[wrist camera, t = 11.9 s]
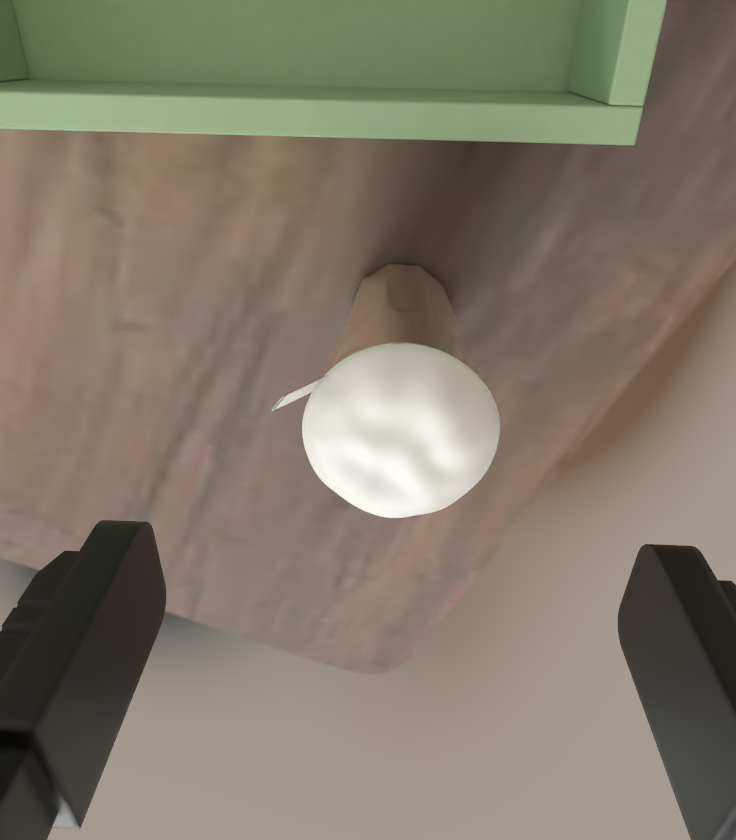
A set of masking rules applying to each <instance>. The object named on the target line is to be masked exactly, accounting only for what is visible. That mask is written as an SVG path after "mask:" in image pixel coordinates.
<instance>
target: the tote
mask: <svg viewBox="0 0 736 840" xmlns="http://www.w3.org/2000/svg"><path fill="white" fill-rule="evenodd" d="M666 4H667V0H0V129H29V130H67V131H105V132H143V133H181V134H219V135H257V136H296V137H334V138H372V139H410V140H448V141H486V142H524V143H563V144H601V145H634V144H635V142H636V138H637V134H638V129H639V125H640V120H641V116H642V111H643V107H641V106H642V105H643V104H644V102H645V97H646V93H647V89H648V84H649V80H650V75H651V71H652V66H653V62H654V57H655V53H656V49H657V44H658V40H659V35H660V31H661V26H662V22H663V17H664V13H665V9H666Z"/></svg>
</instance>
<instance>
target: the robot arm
mask: <svg viewBox="0 0 736 840" xmlns="http://www.w3.org/2000/svg"><path fill="white" fill-rule="evenodd" d="M165 605H166V586H165V581H164V577H163V572H162V568H161V563H160V559H159V554H158V549H157V545H156V540H155V536H154V532H153V528H152V526H151V525H150V523H148V522H136V521H112V520H102V521H100V522H98V523H97V524H96V526H95V527H94V528H93V530H92V532H91V533H90V535H89V537H88V538H87V540H86V542H85V543H84V545H83V546H82V548H81V550H80V551H64V552H63V553H61V554H60V555H59V556H58V557H56V558H55V559H54V560H53V561H52V562H50V563H49V564H48V565H47V566H45V567H44V568H43V569H42V570H41V571H39V572H38V573H37V574H36V575H35V577H34V578H33V580H32V581H31V583H30V584H29V586H28V587H27V589H26V590H25V592H24V593H23V595H22V596H21V598H20V599H19V601H18V606H17V608H13V610H12V611H11V613H10V614H9V616H8V617H7V619H6V620H5V622H4V623H3V625H2V630H1V632H0V840H47V838H48V836H49V833H50V831H51V829H52V828H64V829H80V828H81V825H82V823H83V820H84V818H85V815H86V813H87V810H88V808H89V805H90V803H91V800H92V798H93V795H94V793H95V790H96V787H97V785H98V783H99V780H100V777H101V775H102V772H103V770H104V767H105V765H106V762H107V760H108V757H109V755H110V752H111V750H112V747H113V745H114V742H115V740H116V737H117V735H118V732H119V730H120V727H121V724H122V722H123V720H124V717H125V714H126V712H127V709H128V707H129V704H130V702H131V699H132V697H133V694H134V692H135V689H136V687H137V684H138V682H139V679H140V676H141V674H142V672H143V669H144V666H145V664H146V661H147V659H148V657H149V654H150V651H151V649H152V646H153V644H154V641H155V639H156V636H157V634H158V631H159V629H160V626H161V623H162V620H163V616H164V612H165ZM618 633H619V639H620V644H621V647H622V650H623V653H624V656H625V658H626V661H627V664H628V667H629V669H630V672H631V675H632V678H633V681H634V683H635V686H636V689H637V691H638V694H639V697H640V700H641V703H642V705H643V708H644V711H645V713H646V716H647V719H648V722H649V724H650V728H651V730H652V733H653V736H654V739H655V741H656V744H657V747H658V750H659V752H660V755H661V758H662V761H663V763H664V766H665V769H666V772H667V774H668V777H669V780H670V783H671V786H672V788H673V791H674V794H675V797H676V799H677V802H678V805H679V808H680V810H681V813H682V816H683V819H684V822H685V824H686V827H687V830H688V832H689V835H690V838H691V840H736V585H735V584H734V583H733V582H732V581H718V580H717V579H716V577H715V575H714V573H713V572H712V570H711V568H710V567H709V565H708V563H707V561H706V560H705V558H704V557H703V555H702V553H701V552H700V551H699V550H698V549H697V548H696V547H693V546H676V545H652V544H651V545H650V544H646V545H643V546H642V547H641V549H640V550H639V552H638V555H637V558H636V561H635V564H634V567H633V569H632V572H631V575H630V578H629V581H628V584H627V587H626V590H625V593H624V596H623V599H622V602H621V605H620V608H619V613H618Z"/></svg>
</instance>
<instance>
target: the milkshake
mask: <svg viewBox="0 0 736 840" xmlns="http://www.w3.org/2000/svg"><path fill="white" fill-rule="evenodd" d="M311 392H312V394H311V396H310V398H309V400H308V402H307V405H306V408H305V411H304V415H303V422H302V435H303V442H304V446H305V450H306V453H307V456H308V459H309V461H310V463H311V465H312V467H313V469H314V471H315V472H316V474H317V475H318V477H319V478H320V479H321V480H322V481H323V482H324V483H325V484H326V485H327V486H328V487H329V488H331V489H332V490H333V491H334V492H336V493H337V494H338V495H340V496H341V497H342V498H344V499H345V500H346V501H348V502H349V503H351V504H352V505H354V506H356V507H358V508H360V509H362V510H364V511H366V512H368V513H371V514H374V515H378V516H382V517H387V518H402V517H409V516H415V515H421V514H427V513H431V512H435V511H438V510H441V509H443V508H445V507H447V506H449V505H451V504H452V503H454V502H455V501H456V500H458V499H459V498H460V497H462V496H463V495H464V494H465V493H467V492H468V491H469V490H470V489H471V488H472V487H473V486H475V485H476V484H477V483H478V481H479V480H480V479H481V478H482V477H483V476H484V474H485V473H486V471H487V470H488V468H489V466H490V464H491V462H492V460H493V458H494V455H495V452H496V449H497V445H498V440H499V433H500V420H499V413H498V409H497V406H496V403H495V401H494V399H493V396H492V395H491V393H490V391H489V389H488V388H487V386H486V384H485V382H484V380H483V378H482V376H481V373H480V371H479V369H478V367H477V365H476V363H475V361H474V359H473V357H472V355H471V353H470V351H469V349H468V346H467V344H466V342H465V339H464V337H463V334H462V332H461V329H460V327H459V324H458V322H457V319H456V317H455V314H454V312H453V309H452V307H451V304H450V302H449V300H448V297H447V295H446V292H445V290H444V287H443V285H442V284H441V283H439V282H438V281H437V280H436V279H435V278H433V277H432V276H431V275H430V274H429V273H427V272H426V271H425V270H424V269H423V268H422V267H420V266H418V265H402V264H387V265H385V266H384V267H382V268H381V269H379V270H377V271H376V272H374V273H372V274H371V275H369V276H368V277H366V278H364V279H363V280H362V282H361V284H360V287H359V289H358V292H357V295H356V297H355V300H354V302H353V305H352V307H351V309H350V312H349V315H348V317H347V320H346V323H345V325H344V328H343V330H342V333H341V335H340V337H339V339H338V341H337V343H336V345H335V346H334V348H333V350H332V352H331V354H330V356H329V358H328V360H327V362H326V364H325V366H324V368H323V370H322V373H321V375H320V377H319V379H318V380H315V381H313V382H311V383H309V384H307V385H305V386H303V387H301V388H299V389H296V390H294V391H292V392H290V393H288V394H286V395H284V396H283V397H281V398H280V400H279V401H278V402H277V403H276V404H275V406H274V407H273V408H272V409H271V411H272V412H273V411H275V410H277V409H279V408H281V407H283V406H285V405H287V404H289V403H291V402H293V401H295V400H297V399H299V398H301V397H303V396H305V395H307V394H309V393H311Z"/></svg>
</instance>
